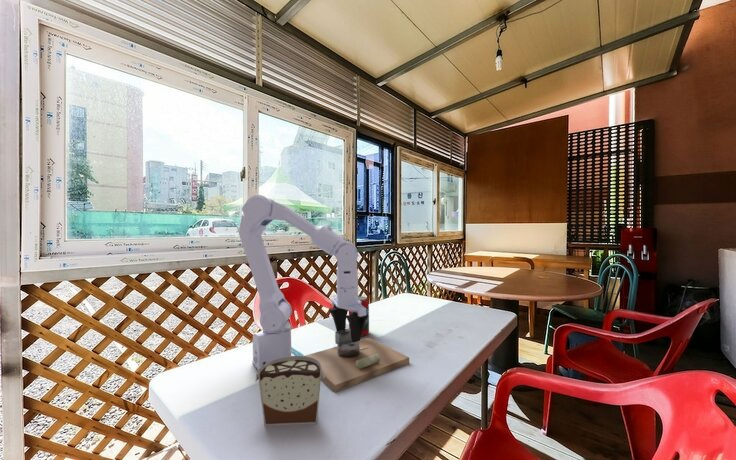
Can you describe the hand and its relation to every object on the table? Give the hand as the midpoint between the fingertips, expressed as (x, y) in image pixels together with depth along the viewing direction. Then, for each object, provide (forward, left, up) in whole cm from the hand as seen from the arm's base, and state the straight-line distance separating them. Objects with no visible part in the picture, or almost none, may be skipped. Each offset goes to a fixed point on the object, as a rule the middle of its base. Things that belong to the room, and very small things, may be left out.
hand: (348, 336), depth 79 cm
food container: (-21, -14, -6) cm, 26 cm away
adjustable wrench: (-10, +16, -6) cm, 20 cm away
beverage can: (+13, +14, -6) cm, 20 cm away
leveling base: (0, -3, -6) cm, 7 cm away
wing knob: (0, 0, -4) cm, 4 cm away
